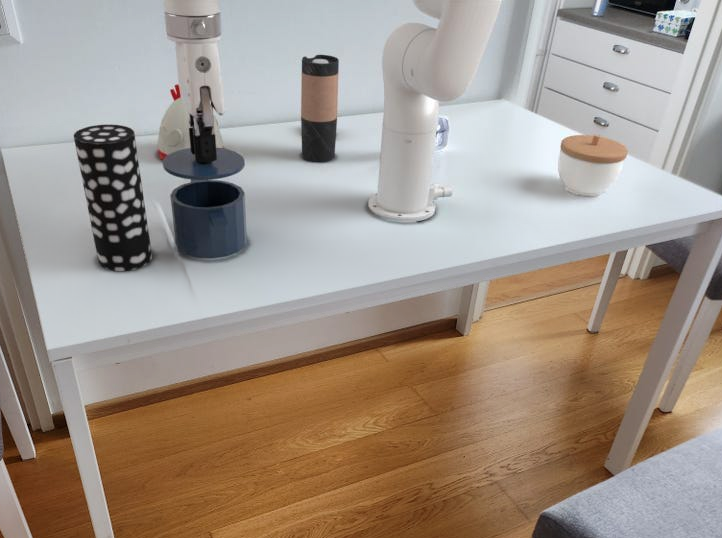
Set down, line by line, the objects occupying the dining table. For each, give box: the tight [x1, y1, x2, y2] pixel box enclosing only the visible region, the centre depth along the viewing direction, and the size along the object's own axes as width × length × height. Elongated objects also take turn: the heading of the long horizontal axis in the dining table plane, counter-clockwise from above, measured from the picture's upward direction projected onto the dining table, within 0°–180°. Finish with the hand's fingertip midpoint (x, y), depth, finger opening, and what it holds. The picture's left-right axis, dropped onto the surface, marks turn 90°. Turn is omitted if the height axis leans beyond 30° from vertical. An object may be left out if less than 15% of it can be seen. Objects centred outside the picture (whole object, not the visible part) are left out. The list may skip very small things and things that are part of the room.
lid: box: [162, 124, 246, 180], centre depth 103 cm, size 12×12×7 cm
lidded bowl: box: [557, 134, 629, 198], centre depth 135 cm, size 13×13×11 cm
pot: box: [169, 179, 248, 259], centre depth 111 cm, size 12×17×9 cm
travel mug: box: [300, 54, 340, 163], centre depth 142 cm, size 8×8×20 cm
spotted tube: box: [73, 124, 153, 272], centre depth 102 cm, size 8×8×20 cm
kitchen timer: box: [157, 83, 225, 161], centre depth 142 cm, size 14×14×15 cm
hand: (203, 155), depth 104 cm, fingers closed on lid, 2 cm apart
